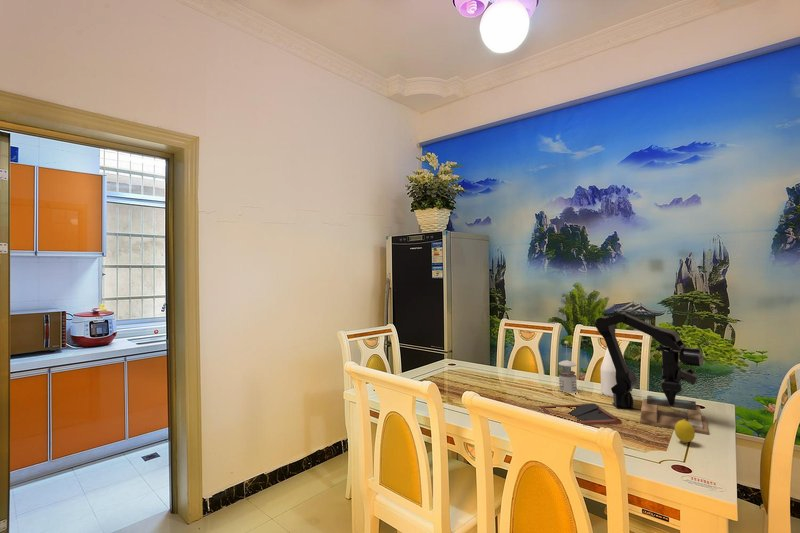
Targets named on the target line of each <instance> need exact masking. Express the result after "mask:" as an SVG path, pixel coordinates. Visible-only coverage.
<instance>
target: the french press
mask: <svg viewBox="0 0 800 533" xmlns="http://www.w3.org/2000/svg"><path fill="white" fill-rule="evenodd" d="M563 344H565V346H566V354H568V344H569V341H567V340H565V341H564V343H563ZM558 365H559V366H560V367H564V368H565V369H564V370H563V369H562V370H560V371H559V373H560V374H558V378H559V379H558V382H559V384H558V386H559V389H560V390H561V391H563V392H567V393H577V392H579V391H578V385H577V375H576V372H575V371H574V370H570V368H572V367H573V368H574V367H576V366H577V364H576V363H575V362H573V361H570V360H568V359H565V360H561V361H559V362H558ZM559 389H558V390H559Z"/></svg>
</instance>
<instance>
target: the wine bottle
mask: <svg viewBox="0 0 800 533" xmlns="http://www.w3.org/2000/svg"><path fill="white" fill-rule="evenodd" d="M616 384H617V383H616V369H615V367H614V364H613V361H612V359H611V356H610V353H609V350H608V348H607V347H606V350H605V354H604V357H603V360H602V362H601V364H600V391H601V394H602V395H604V396H606V397H611V398H614V397H613V393H612V390H611V388H612V387H613V386H615V385H616Z"/></svg>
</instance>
